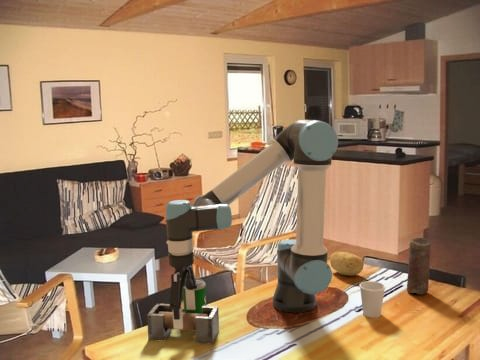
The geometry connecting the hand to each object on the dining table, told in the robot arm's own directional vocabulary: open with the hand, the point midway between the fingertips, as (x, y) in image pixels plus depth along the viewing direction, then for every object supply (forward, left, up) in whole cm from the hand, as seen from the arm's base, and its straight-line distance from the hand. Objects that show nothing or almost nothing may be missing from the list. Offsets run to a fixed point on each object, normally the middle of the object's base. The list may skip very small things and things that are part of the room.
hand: (185, 318), depth 154 cm
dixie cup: (-58, -23, -6) cm, 62 cm away
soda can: (+1, -14, -6) cm, 16 cm away
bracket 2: (-7, 0, -5) cm, 9 cm away
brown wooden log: (+1, 0, -3) cm, 4 cm away
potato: (-51, -61, -6) cm, 79 cm away
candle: (-76, -44, -6) cm, 88 cm away
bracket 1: (+8, 0, -5) cm, 10 cm away
